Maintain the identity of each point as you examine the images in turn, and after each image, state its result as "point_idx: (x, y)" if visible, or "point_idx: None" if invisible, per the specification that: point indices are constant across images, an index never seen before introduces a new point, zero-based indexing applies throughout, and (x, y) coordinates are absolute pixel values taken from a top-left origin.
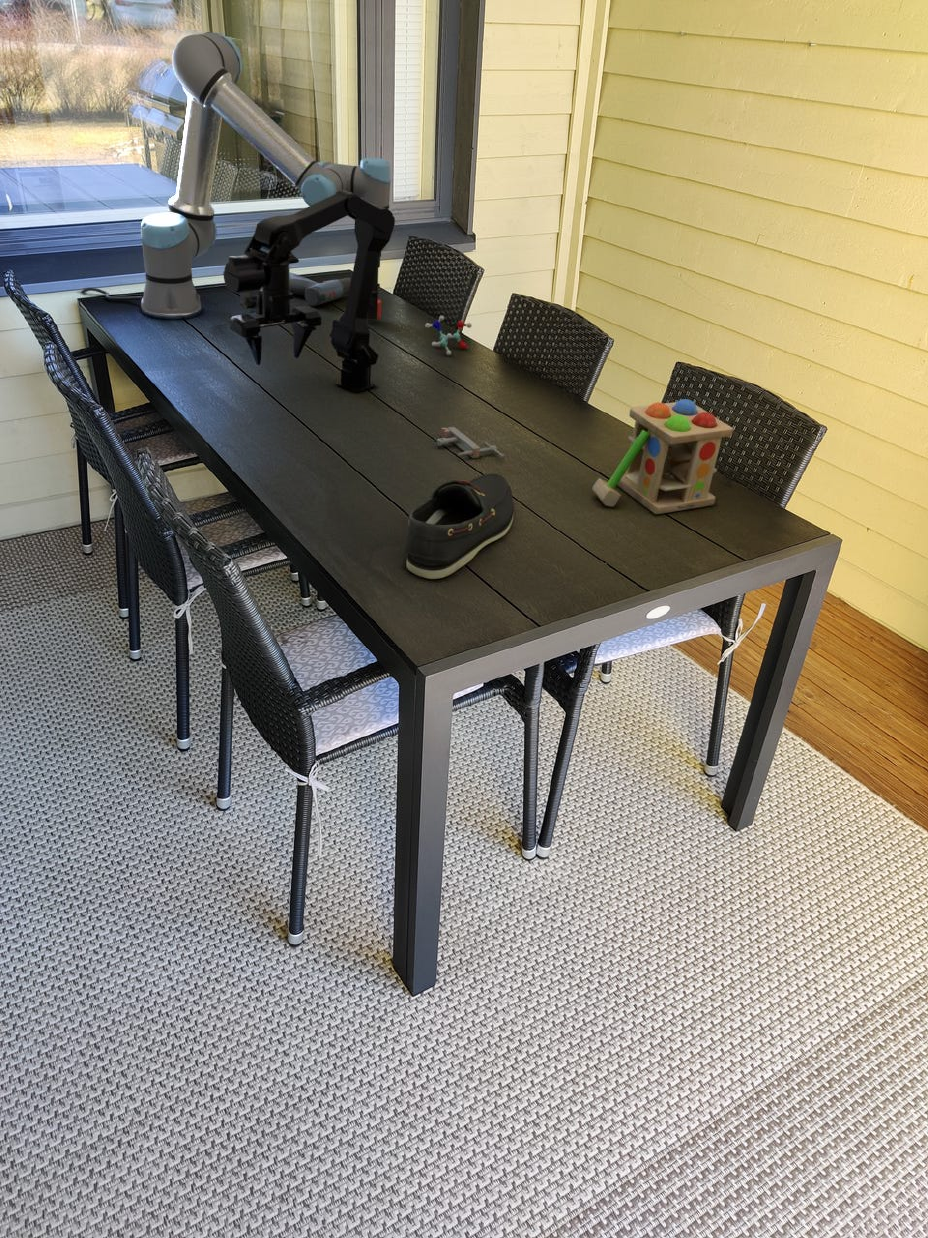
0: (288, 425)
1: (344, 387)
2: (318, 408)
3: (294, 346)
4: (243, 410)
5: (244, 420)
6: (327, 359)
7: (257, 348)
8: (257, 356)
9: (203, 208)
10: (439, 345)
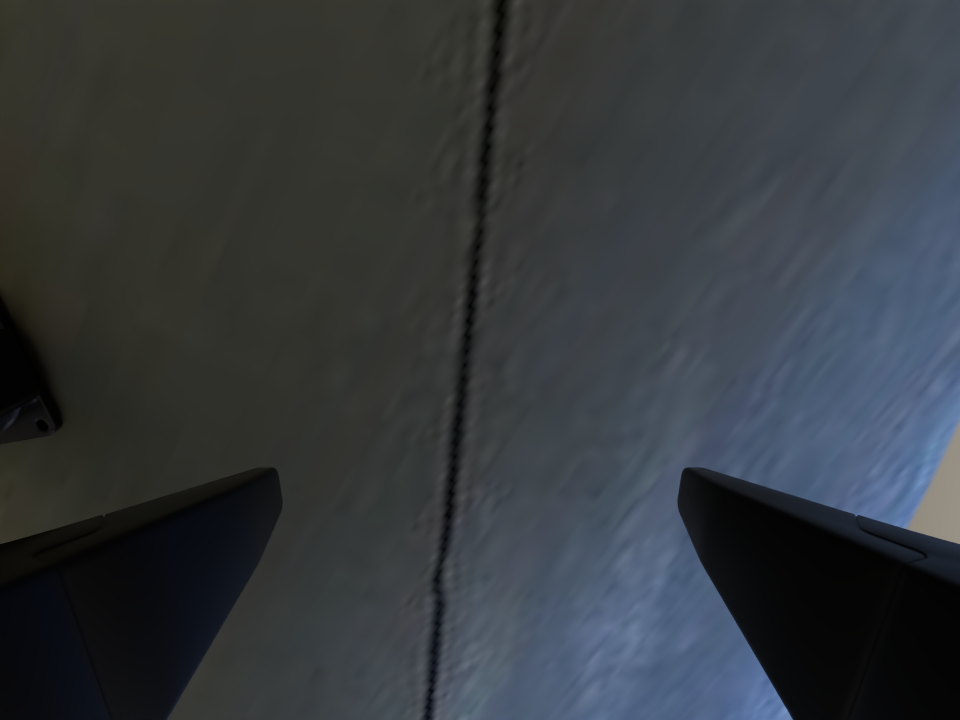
0: (597, 35)
1: (32, 370)
2: (298, 188)
3: (234, 579)
4: (682, 358)
5: (764, 238)
6: None
7: (916, 535)
8: (792, 495)
9: None
10: None
